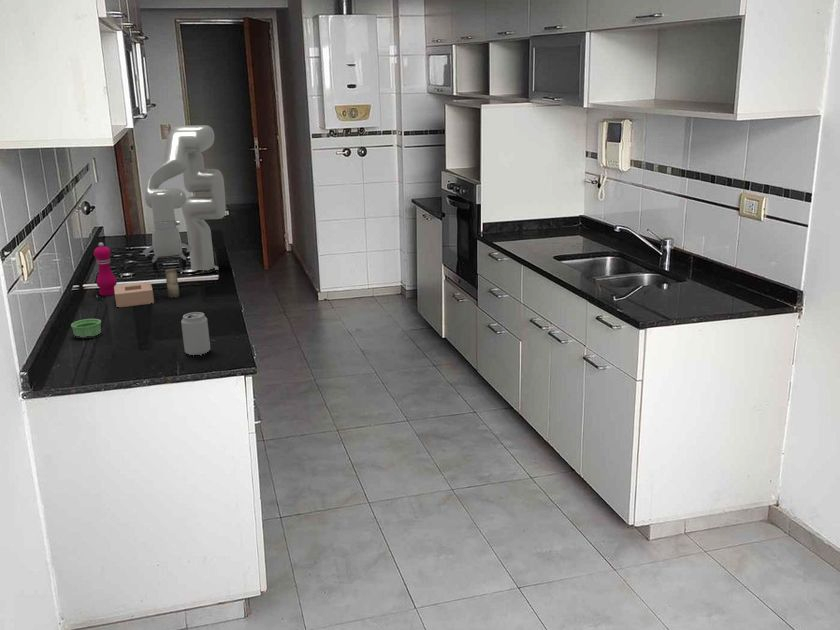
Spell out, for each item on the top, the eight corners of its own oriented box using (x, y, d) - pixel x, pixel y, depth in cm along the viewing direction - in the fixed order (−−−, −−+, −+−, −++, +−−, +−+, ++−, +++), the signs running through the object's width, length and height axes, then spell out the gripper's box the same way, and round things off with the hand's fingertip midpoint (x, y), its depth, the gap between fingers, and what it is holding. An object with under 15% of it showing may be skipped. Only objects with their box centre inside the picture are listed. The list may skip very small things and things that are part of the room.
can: (190, 348, 245) (186, 310, 241) (214, 348, 244) (210, 310, 241) (181, 356, 238) (176, 318, 234) (205, 357, 237) (201, 318, 233)
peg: (168, 295, 303) (164, 269, 300) (178, 294, 305) (175, 268, 302) (168, 298, 300) (165, 272, 297) (179, 296, 301) (176, 271, 298)
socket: (115, 298, 301) (113, 285, 300) (152, 294, 306) (150, 281, 304) (116, 307, 289) (114, 294, 288) (154, 303, 294) (152, 290, 292)
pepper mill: (115, 289, 314) (108, 239, 308) (120, 293, 308) (112, 242, 302) (96, 293, 310) (88, 242, 304) (100, 297, 304) (92, 245, 298)
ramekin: (108, 331, 263) (106, 319, 262) (92, 340, 255) (90, 327, 254) (83, 330, 265) (81, 318, 264) (67, 339, 257) (65, 326, 255)
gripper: (188, 221, 300) (193, 266, 305) (139, 225, 294) (145, 271, 299) (190, 224, 294) (195, 270, 298) (140, 228, 288) (146, 275, 292)
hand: (170, 270), depth 299 cm, fingers open, 9 cm apart
